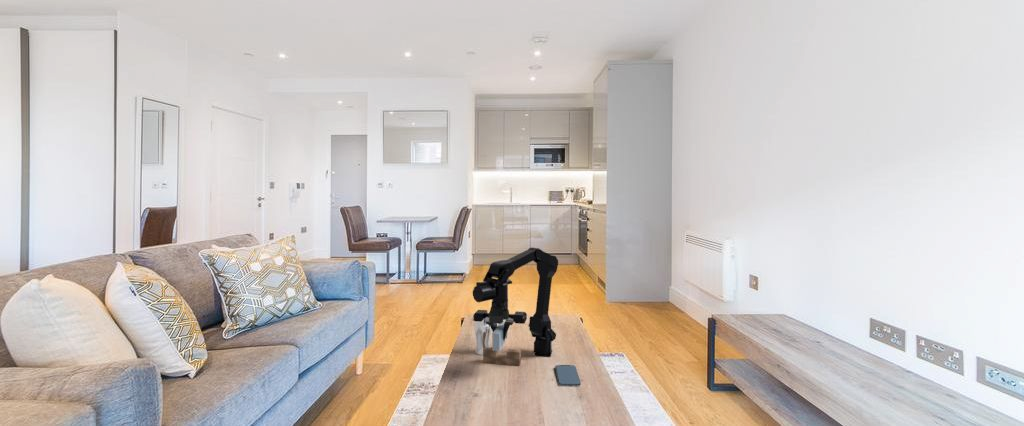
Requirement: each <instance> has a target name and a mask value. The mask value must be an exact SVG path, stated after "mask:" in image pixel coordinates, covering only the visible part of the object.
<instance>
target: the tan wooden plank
mask: <svg viewBox="0 0 1024 426" xmlns="http://www.w3.org/2000/svg"><path fill="white" fill-rule="evenodd" d="M498 352H499V351H495V350H493V347H490V348H489V347H485V348H484V349H483V355H482V358H483V359H482V361H483V362H482V363H483V364H484V363H485V364H496V365H505V366H506V365H507V366H518V367H519V366H521V364H522V362H521V361H522V350H521V349H514V348H513V349H511V348H508V349H507V350H506V351H505V352H506V354H505V355H504V354H499V353H498Z"/></svg>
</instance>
